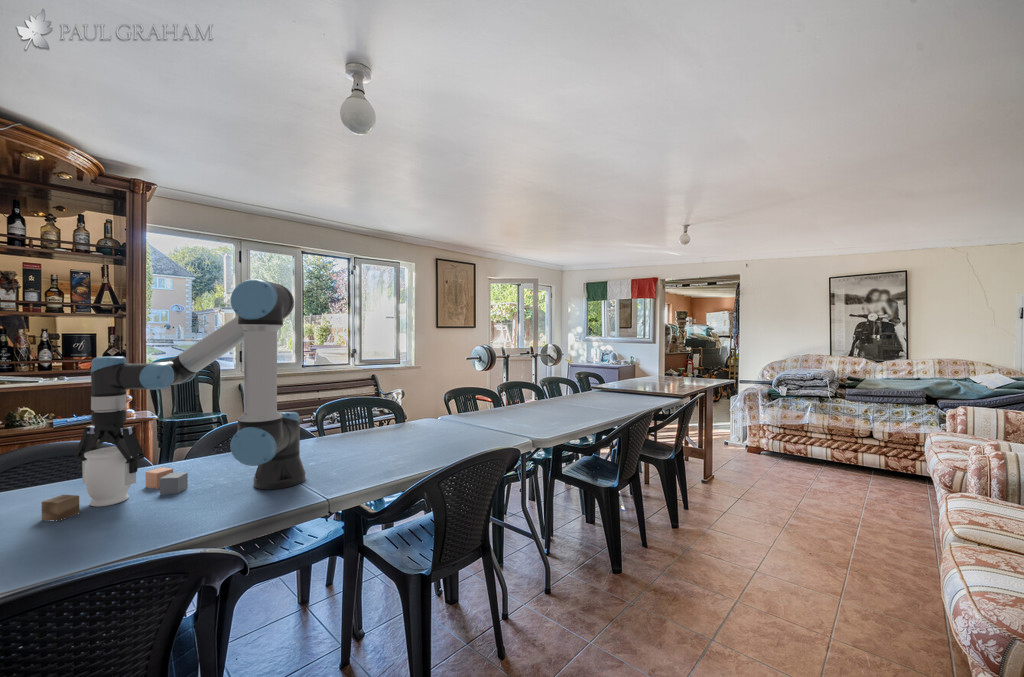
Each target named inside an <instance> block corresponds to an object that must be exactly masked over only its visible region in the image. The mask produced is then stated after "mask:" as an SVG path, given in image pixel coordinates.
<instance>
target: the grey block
mask: <svg viewBox="0 0 1024 677" xmlns="http://www.w3.org/2000/svg"><path fill="white" fill-rule="evenodd" d="M188 475H189V474H188V472H173V473H170V474H168V475H166V476H164V477H162V478H160V488H159V494H161V495H176V494H177V495H178V493H179V494H181V493H182V492H183V490H184V491H185V490H187V489H188V488H189V487H188V486H189V485H188V484H189V483H188V478H189V477H188ZM181 491H182V492H181Z"/></svg>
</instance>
